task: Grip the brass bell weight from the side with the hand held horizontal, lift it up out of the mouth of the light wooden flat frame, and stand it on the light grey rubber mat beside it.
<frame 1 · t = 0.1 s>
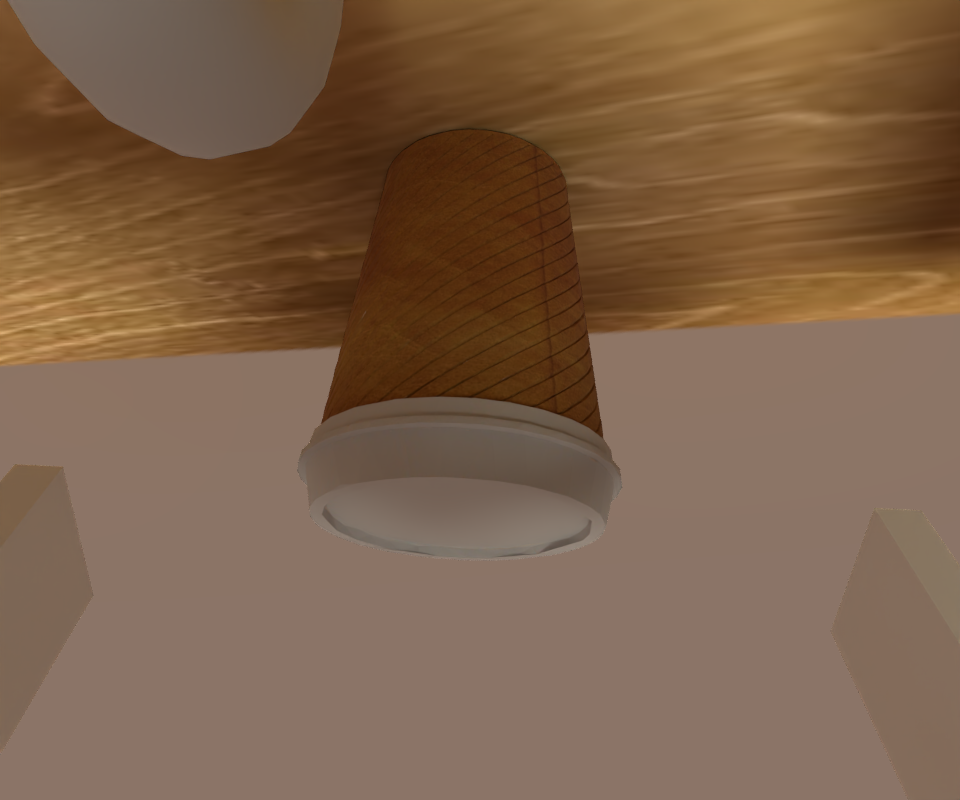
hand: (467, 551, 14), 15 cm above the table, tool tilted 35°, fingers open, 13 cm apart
disposable coffee cup: (476, 185, 30), on the table
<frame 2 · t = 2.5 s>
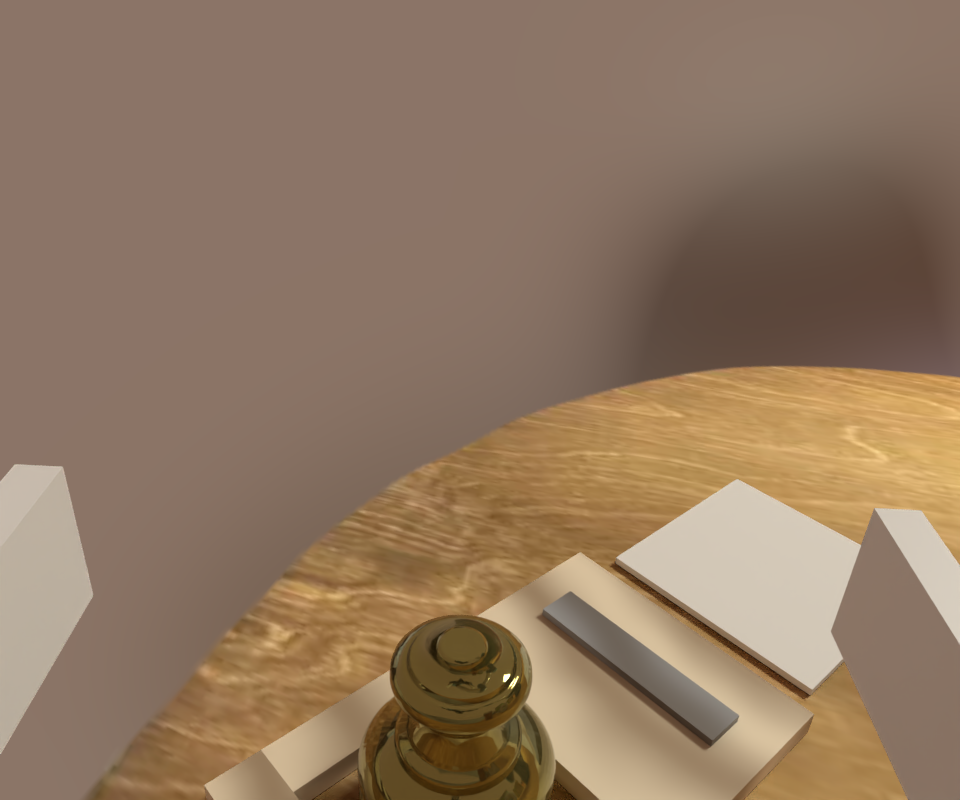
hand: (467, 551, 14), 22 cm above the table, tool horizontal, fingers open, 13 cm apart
mat: (767, 573, 48), on the table
light wooden flat frame: (525, 766, 36), on the table
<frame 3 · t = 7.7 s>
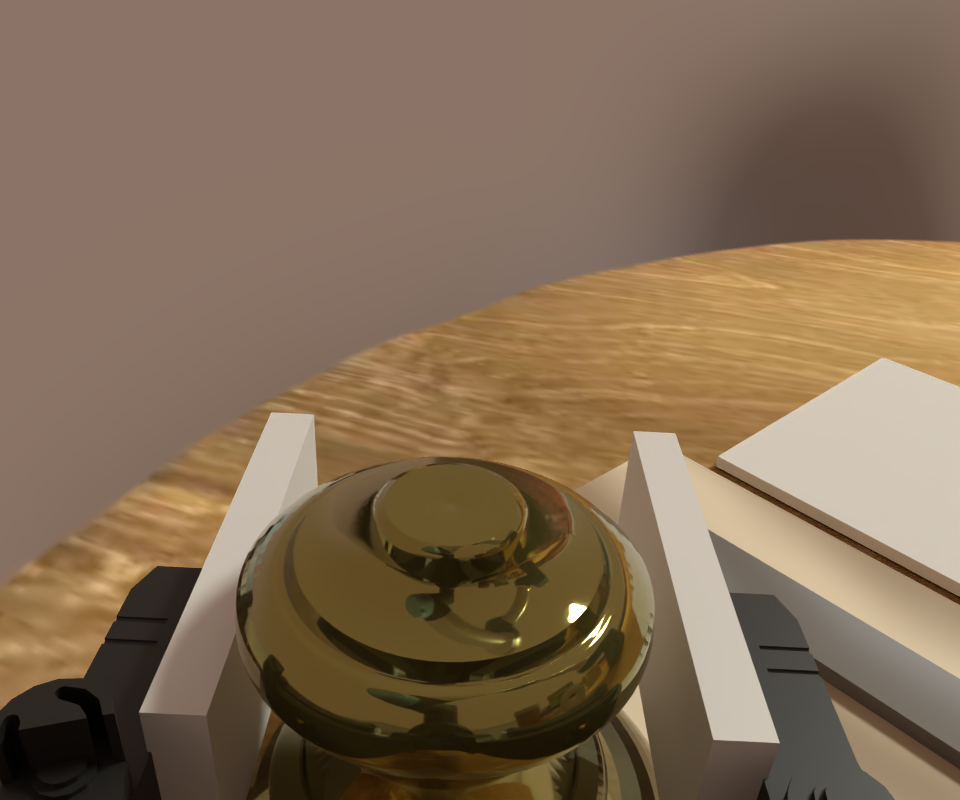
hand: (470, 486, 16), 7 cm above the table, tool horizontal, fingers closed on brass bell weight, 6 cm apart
when the fingers open (8 cm above the table, at t = 14.2 s): brass bell weight drops 1 cm, resting on mat.
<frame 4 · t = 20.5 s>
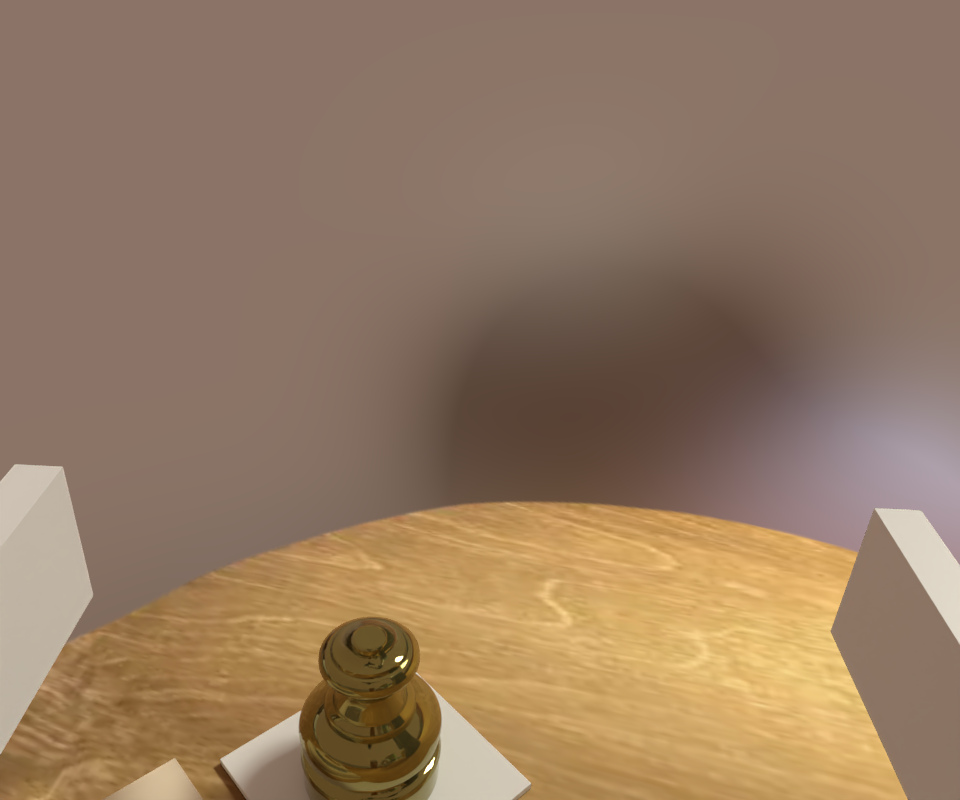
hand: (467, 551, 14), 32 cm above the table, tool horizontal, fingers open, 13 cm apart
mat: (375, 776, 46), on the table
brass bell weight: (372, 772, 46), resting on mat
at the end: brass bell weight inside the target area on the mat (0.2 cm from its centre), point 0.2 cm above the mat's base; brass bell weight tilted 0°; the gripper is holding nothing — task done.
